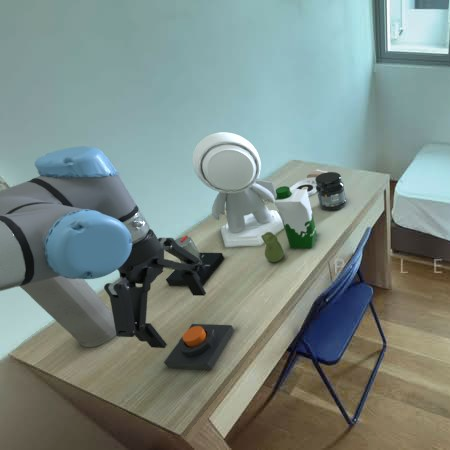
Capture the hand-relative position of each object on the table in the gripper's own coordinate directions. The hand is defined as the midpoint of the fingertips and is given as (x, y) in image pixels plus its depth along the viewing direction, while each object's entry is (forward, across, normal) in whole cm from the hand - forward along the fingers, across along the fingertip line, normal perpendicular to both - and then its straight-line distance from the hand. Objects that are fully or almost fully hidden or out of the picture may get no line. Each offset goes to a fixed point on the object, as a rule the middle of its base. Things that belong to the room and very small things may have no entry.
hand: (181, 318), depth 65 cm
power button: (+7, 0, 0) cm, 7 cm away
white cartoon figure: (+11, +47, +10) cm, 49 cm away
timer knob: (+8, +25, +17) cm, 31 cm away
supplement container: (+11, +64, -16) cm, 67 cm away
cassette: (+11, +70, +14) cm, 72 cm away
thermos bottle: (+11, +3, +28) cm, 30 cm away
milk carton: (+11, +40, -11) cm, 43 cm away
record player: (+11, +79, -2) cm, 80 cm away
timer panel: (+11, +25, +17) cm, 32 cm away
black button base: (+11, 0, 0) cm, 11 cm away
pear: (+11, +31, -5) cm, 33 cm away
